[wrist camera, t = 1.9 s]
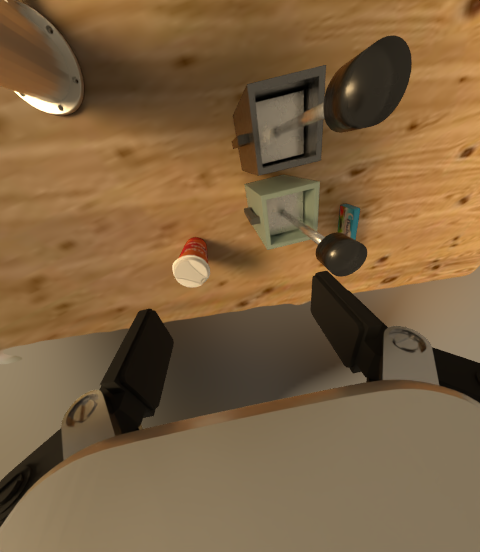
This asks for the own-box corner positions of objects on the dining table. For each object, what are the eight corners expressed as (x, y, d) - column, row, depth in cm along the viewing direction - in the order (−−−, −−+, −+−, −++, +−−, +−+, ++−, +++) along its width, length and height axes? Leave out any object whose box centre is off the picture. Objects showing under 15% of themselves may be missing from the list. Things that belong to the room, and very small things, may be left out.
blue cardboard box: (341, 241, 57) (353, 249, 52) (336, 242, 57) (348, 250, 52) (345, 203, 50) (360, 208, 45) (340, 204, 50) (354, 209, 45)
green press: (237, 185, 44) (250, 198, 29) (283, 174, 44) (319, 181, 29) (244, 224, 49) (258, 252, 34) (285, 214, 49) (316, 237, 34)
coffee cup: (216, 243, 51) (217, 270, 39) (201, 264, 54) (197, 294, 42) (190, 227, 48) (182, 250, 35) (175, 249, 51) (164, 278, 38)
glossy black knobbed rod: (262, 197, 33) (314, 235, 16) (301, 187, 33) (394, 215, 16) (267, 234, 37) (311, 295, 21) (301, 226, 37) (374, 280, 20)
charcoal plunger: (251, 104, 26) (324, -2, 9) (301, 92, 26) (469, -37, 9) (258, 164, 30) (317, 168, 13) (301, 153, 30) (415, 144, 13)
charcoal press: (224, 117, 36) (232, 87, 22) (279, 104, 36) (325, 64, 22) (234, 172, 42) (247, 178, 27) (282, 160, 42) (321, 160, 27)
